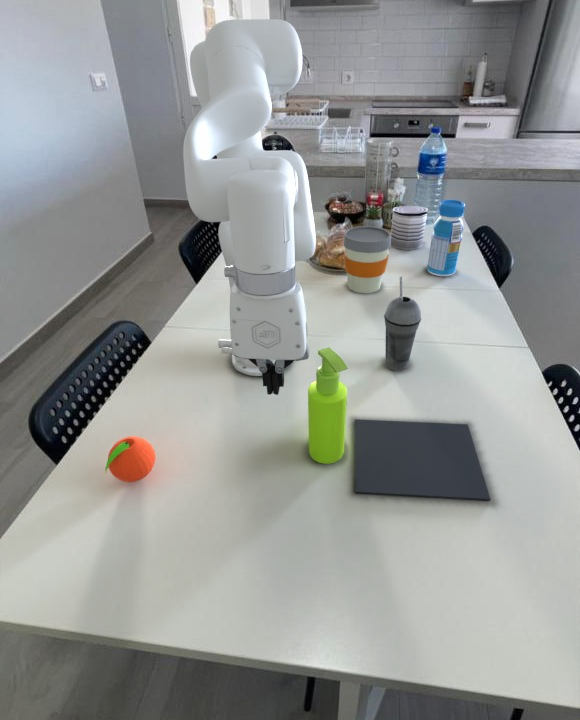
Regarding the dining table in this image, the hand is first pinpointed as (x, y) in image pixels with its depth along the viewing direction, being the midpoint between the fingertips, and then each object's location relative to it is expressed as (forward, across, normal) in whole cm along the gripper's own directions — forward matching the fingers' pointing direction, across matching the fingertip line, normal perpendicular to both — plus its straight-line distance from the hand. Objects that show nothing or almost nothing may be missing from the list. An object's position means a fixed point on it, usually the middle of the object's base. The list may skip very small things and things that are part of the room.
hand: (274, 388), depth 67 cm
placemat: (+13, +23, 0) cm, 26 cm away
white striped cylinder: (+13, +31, +96) cm, 102 cm away
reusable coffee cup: (+13, +16, +63) cm, 67 cm away
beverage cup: (+13, +22, +26) cm, 37 cm away
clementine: (+14, -22, -7) cm, 27 cm away
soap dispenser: (+14, +8, 0) cm, 16 cm away
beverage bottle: (+13, +39, +74) cm, 85 cm away
